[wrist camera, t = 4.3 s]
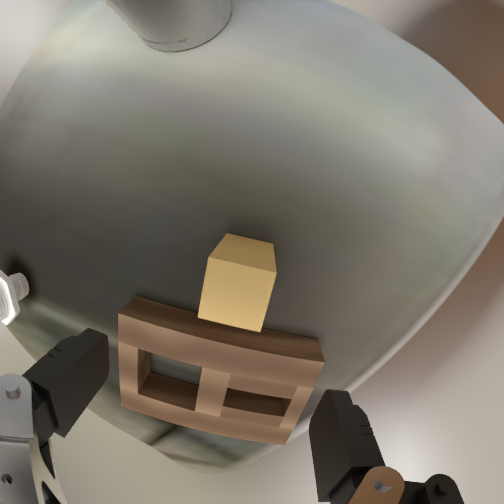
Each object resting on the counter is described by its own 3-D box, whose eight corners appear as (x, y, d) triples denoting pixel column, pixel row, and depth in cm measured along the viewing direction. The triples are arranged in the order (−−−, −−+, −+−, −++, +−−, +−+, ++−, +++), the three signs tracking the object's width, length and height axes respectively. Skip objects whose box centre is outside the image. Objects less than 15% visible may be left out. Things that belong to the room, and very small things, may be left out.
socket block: (136, 296, 26) (118, 313, 22) (317, 339, 26) (325, 362, 22) (134, 384, 29) (121, 405, 25) (283, 420, 29) (284, 444, 25)
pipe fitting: (2, 276, 27) (-38, 296, 19) (21, 249, 25) (-25, 267, 18) (24, 315, 28) (-13, 341, 20) (45, 293, 27) (2, 320, 19)
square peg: (226, 233, 24) (208, 257, 16) (273, 243, 24) (276, 273, 16) (217, 276, 25) (197, 317, 17) (262, 287, 25) (260, 332, 17)
